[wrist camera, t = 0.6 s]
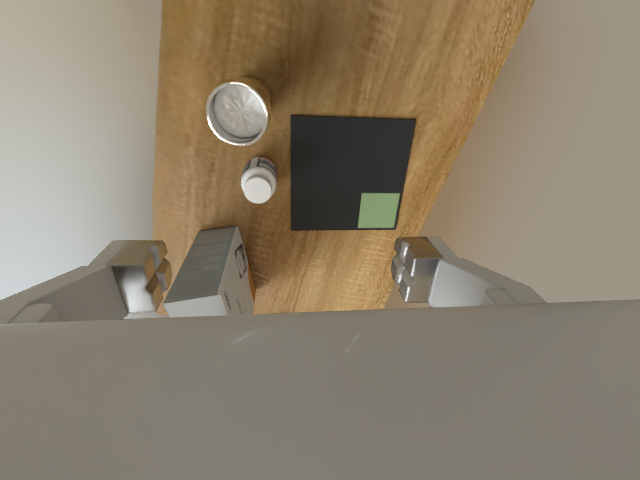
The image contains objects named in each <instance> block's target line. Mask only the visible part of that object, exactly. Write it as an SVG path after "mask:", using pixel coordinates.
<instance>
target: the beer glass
mask: <svg viewBox="0 0 640 480" xmlns="http://www.w3.org/2000/svg"><path fill="white" fill-rule="evenodd" d="M271 112H272V109H271V97H270V93H269V91H268V89H267V87H266V86H265V85H264V84H263V83H262V82H261V81H260V80H258V79H256V78H253V77H235V78H230V79H227V80H225V81H224V82H222V83H221V84H219V85H218V86H217V87H216V88H215V89H214V90H213V91H212V93H211V94H210V96H209V98H208V101H207V105H206V116H207V120H208V123H209V125H210V127H211V129H212V131H213V132H214V133H215V135H216V136H217V137H218V138H220V139H221V140H222V141H224V142H226V143H228V144H230V145H234V146H248V145H251V144H253V143H255V142H256V141H258V140H259V139H260V138H261V137H262V136H263V134H264V133H265V131H266V130H267V128H268V126H269V123H270V120H271Z"/></svg>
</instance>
